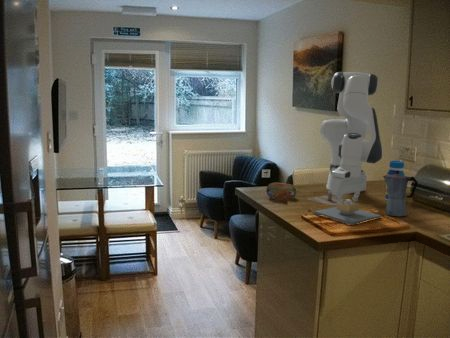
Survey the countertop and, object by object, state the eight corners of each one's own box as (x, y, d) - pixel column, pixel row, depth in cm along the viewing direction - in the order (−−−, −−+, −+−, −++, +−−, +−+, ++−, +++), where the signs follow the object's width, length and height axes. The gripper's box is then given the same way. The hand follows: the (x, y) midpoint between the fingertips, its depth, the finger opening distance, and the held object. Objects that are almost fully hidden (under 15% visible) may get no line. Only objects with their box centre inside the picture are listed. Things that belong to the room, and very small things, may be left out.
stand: (327, 197, 226) (328, 186, 225) (353, 204, 213) (354, 192, 212) (305, 201, 216) (306, 189, 215) (331, 209, 204) (332, 196, 203)
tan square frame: (346, 207, 196) (346, 200, 196) (358, 210, 191) (359, 203, 190) (336, 209, 192) (336, 202, 192) (348, 212, 187) (349, 205, 186)
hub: (343, 208, 206) (344, 192, 204) (380, 218, 190) (382, 201, 189) (313, 214, 194) (315, 197, 193) (351, 226, 178) (352, 208, 177)
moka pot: (383, 209, 205) (387, 167, 202) (417, 216, 196) (422, 171, 193) (375, 213, 198) (379, 169, 195) (411, 220, 189) (415, 174, 185)
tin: (265, 198, 222) (266, 181, 221) (268, 196, 225) (268, 180, 223) (294, 202, 215) (295, 185, 214) (296, 200, 218) (297, 184, 217)
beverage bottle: (403, 202, 220) (407, 163, 216) (385, 201, 221) (389, 162, 218) (400, 199, 228) (404, 160, 225) (383, 197, 230) (386, 159, 226)
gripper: (359, 168, 197) (356, 198, 200) (328, 172, 185) (326, 204, 188) (371, 170, 192) (368, 201, 195) (341, 174, 180) (338, 207, 183)
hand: (347, 202), depth 191 cm, fingers open, 8 cm apart
